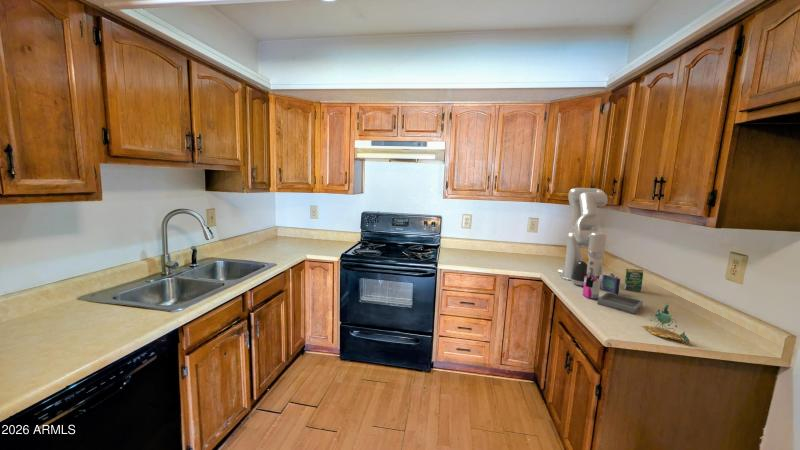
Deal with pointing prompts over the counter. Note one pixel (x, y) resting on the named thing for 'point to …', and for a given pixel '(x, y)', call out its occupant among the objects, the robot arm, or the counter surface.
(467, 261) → the counter surface
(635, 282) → the coffee box
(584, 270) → the dark grey domed cylinder
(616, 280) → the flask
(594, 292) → the supplement box
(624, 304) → the tray
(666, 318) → the frog figurine
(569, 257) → the robot arm
